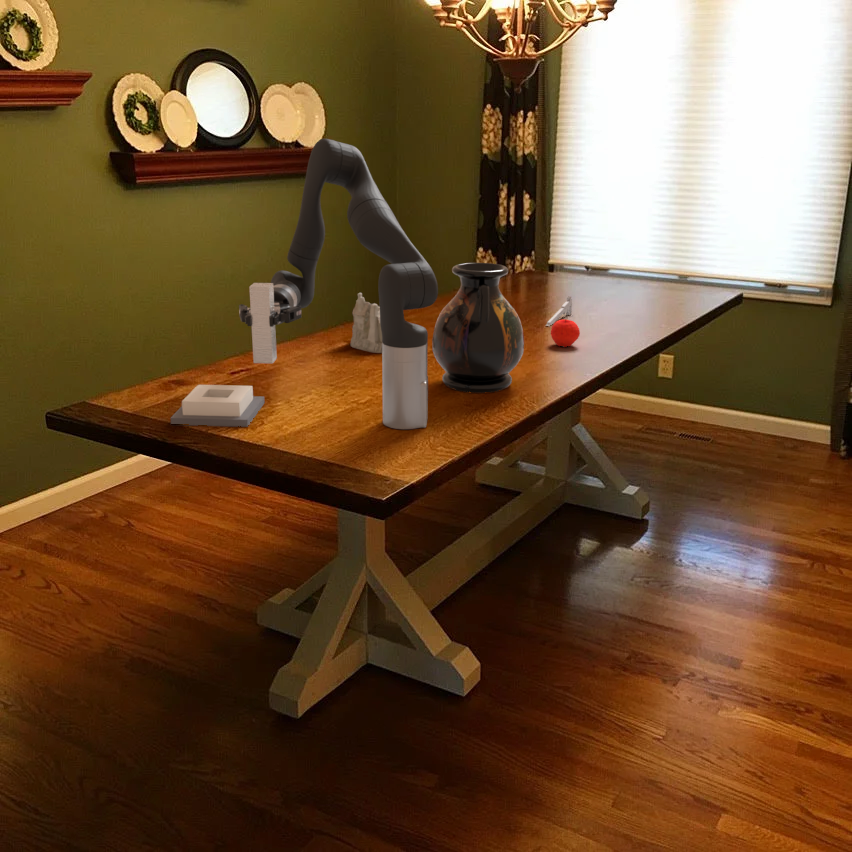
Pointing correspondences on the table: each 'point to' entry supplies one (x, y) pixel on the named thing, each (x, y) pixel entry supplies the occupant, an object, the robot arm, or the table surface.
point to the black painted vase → (478, 332)
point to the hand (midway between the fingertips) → (260, 321)
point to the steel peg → (262, 322)
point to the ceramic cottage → (366, 326)
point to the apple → (565, 332)
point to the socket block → (219, 406)
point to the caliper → (562, 311)
